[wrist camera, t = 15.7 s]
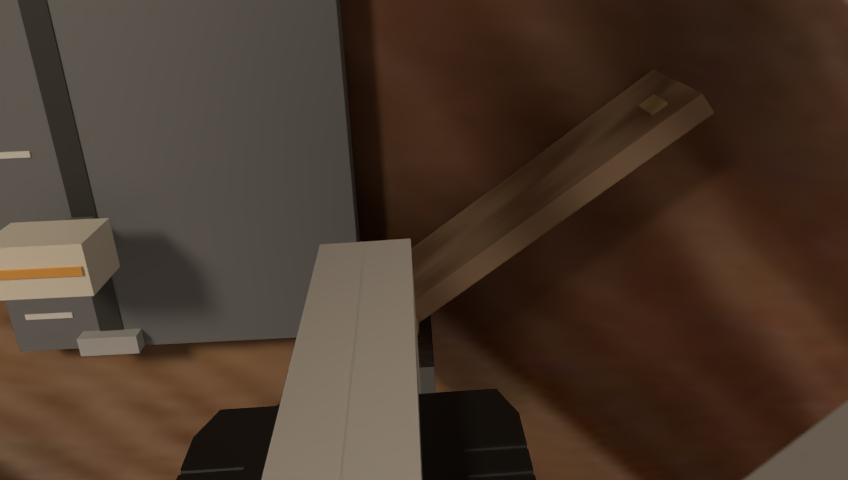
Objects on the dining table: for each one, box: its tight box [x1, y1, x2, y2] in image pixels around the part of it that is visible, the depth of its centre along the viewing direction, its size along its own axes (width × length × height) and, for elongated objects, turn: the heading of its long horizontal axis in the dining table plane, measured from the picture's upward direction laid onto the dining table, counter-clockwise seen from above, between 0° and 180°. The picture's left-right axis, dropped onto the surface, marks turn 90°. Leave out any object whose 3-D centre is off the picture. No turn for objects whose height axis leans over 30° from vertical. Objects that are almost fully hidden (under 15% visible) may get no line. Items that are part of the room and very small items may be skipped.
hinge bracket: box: [417, 315, 435, 394], centre depth 36 cm, size 2×3×7 cm, turn 93°
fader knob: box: [0, 216, 120, 301], centre depth 32 cm, size 2×4×5 cm, turn 92°
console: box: [0, 0, 360, 356], centre depth 33 cm, size 26×18×3 cm
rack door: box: [411, 69, 714, 336], centre depth 33 cm, size 17×2×7 cm, turn 128°
